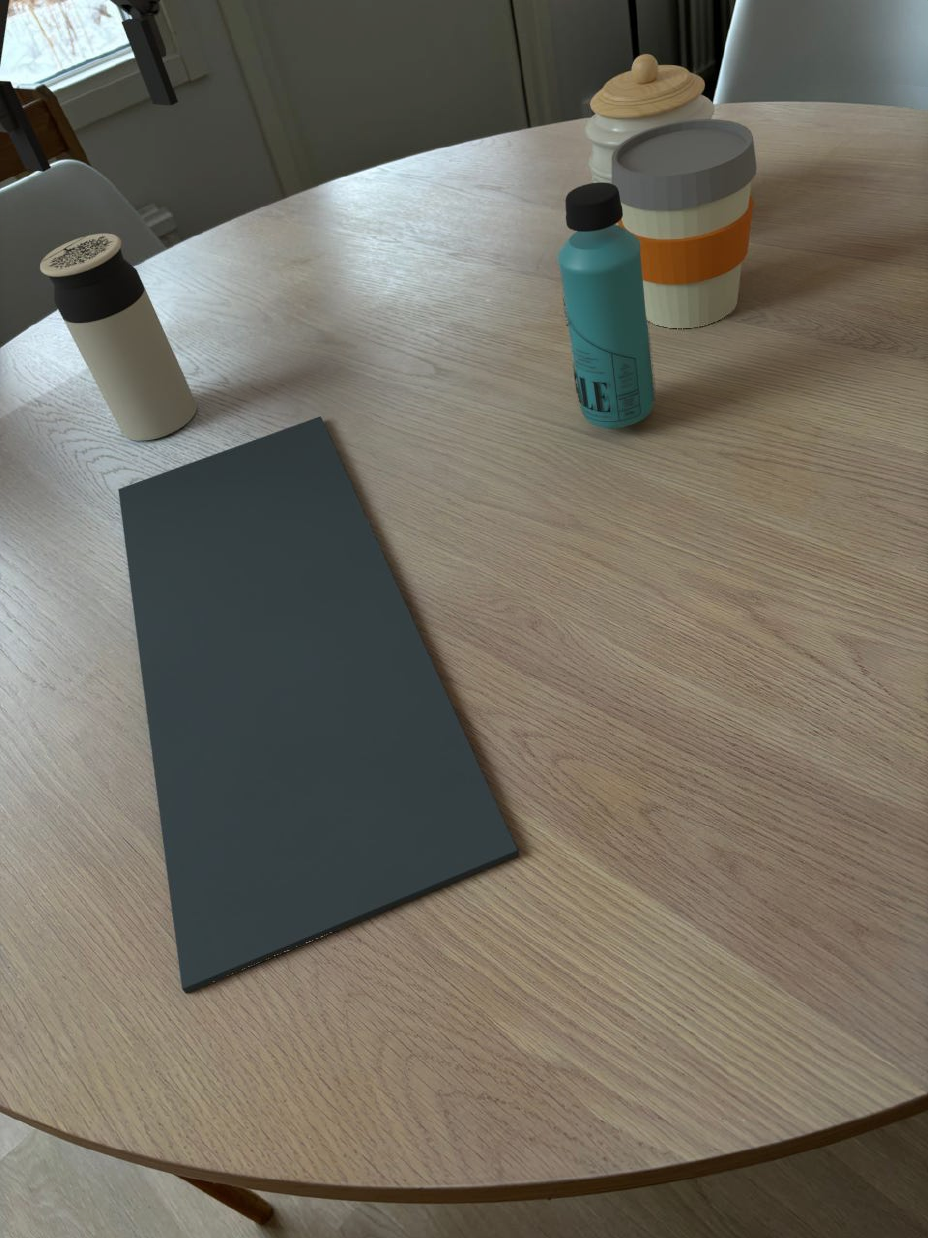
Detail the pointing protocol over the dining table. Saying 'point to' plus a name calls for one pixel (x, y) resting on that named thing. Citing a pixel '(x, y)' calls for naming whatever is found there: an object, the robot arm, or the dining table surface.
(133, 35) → the robot arm
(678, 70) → the jar
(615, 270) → the beverage bottle
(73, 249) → the travel mug
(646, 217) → the reusable coffee cup
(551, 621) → the dining table surface
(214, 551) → the mat
